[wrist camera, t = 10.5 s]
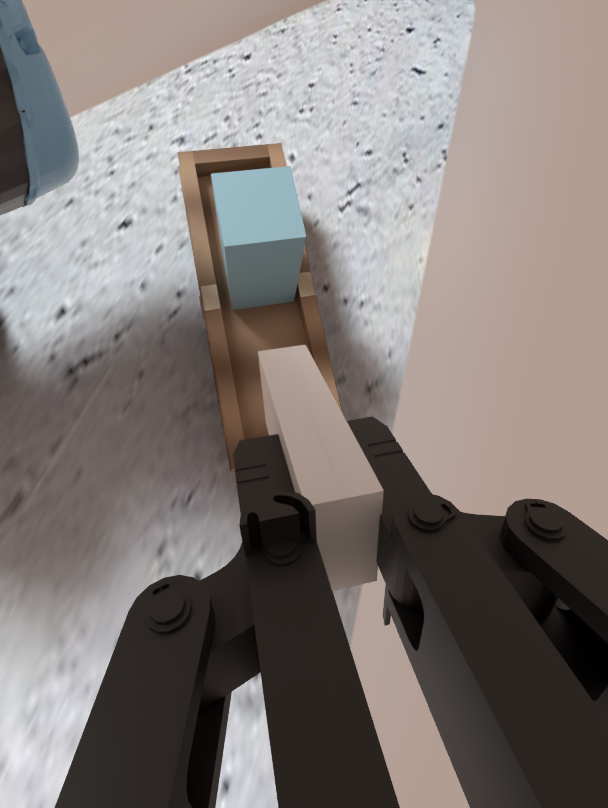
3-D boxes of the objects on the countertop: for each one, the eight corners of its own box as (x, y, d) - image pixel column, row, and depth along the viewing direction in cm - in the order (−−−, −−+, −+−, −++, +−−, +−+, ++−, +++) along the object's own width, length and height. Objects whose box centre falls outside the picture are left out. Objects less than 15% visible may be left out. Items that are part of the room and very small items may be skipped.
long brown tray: (337, 453, 38) (353, 444, 31) (232, 474, 36) (227, 469, 30) (280, 195, 43) (284, 141, 36) (186, 205, 41) (173, 151, 35)
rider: (293, 301, 35) (306, 236, 26) (232, 310, 34) (224, 246, 25) (282, 246, 36) (290, 166, 27) (222, 253, 35) (210, 173, 26)
